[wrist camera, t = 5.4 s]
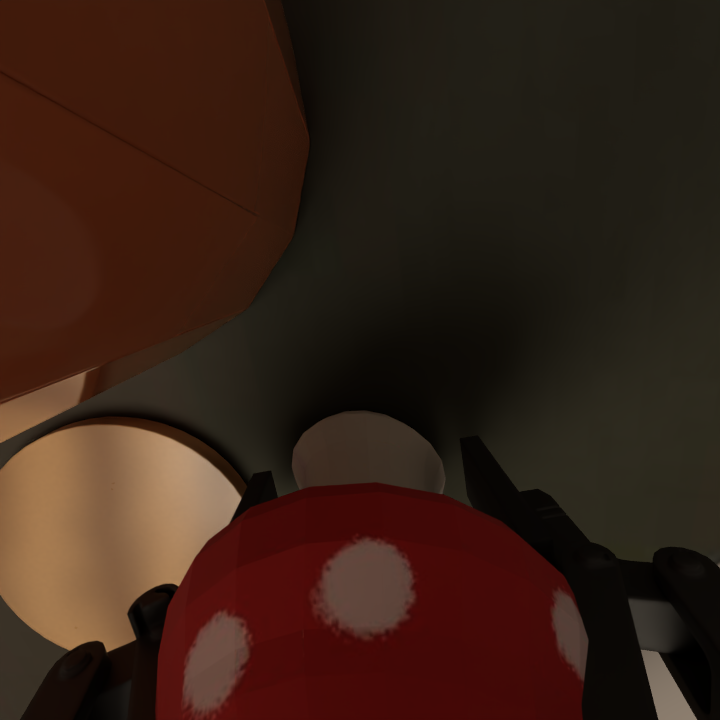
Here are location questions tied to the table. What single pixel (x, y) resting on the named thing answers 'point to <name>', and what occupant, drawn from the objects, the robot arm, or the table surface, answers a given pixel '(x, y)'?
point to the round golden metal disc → (106, 523)
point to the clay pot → (136, 185)
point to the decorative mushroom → (370, 600)
